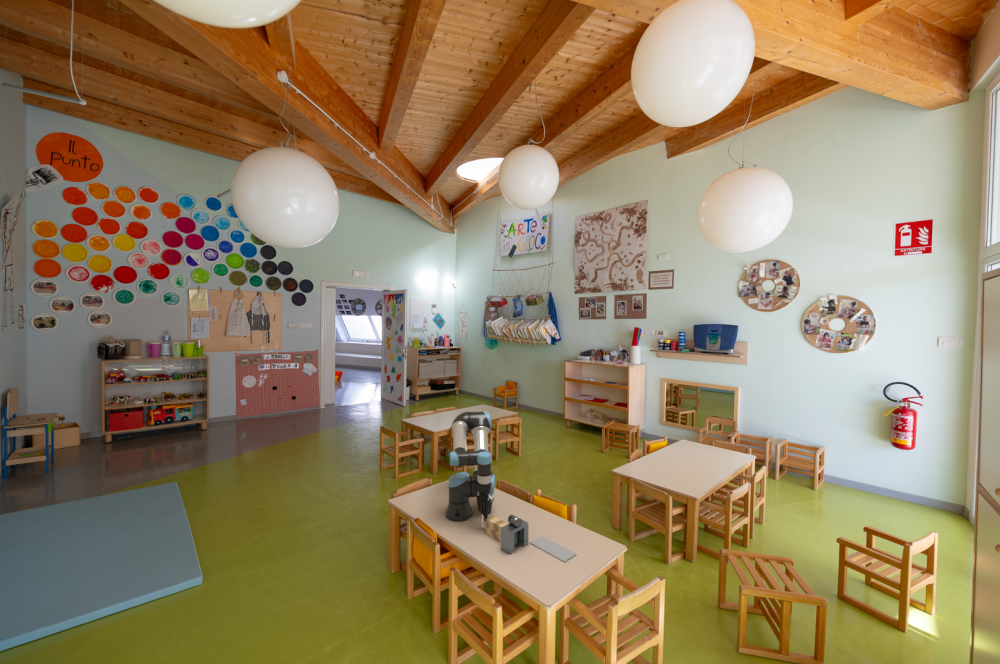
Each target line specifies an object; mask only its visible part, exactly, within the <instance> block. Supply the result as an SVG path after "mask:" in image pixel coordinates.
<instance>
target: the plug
mask: <svg viewBox="0 0 1000 664" xmlns="http://www.w3.org/2000/svg"><path fill="white" fill-rule="evenodd" d="M507 524H509V522H508V523H507V522H506V521H503V520H502V519H500V518H498V517H496V516H494V515H491V516H489V517H488V518H487V519H486V526H485V534H486V535H487V536H489V537H491V538H492V539H494V540H495V541H497V542H498V543H499V542H500V543H501V527H503V526H505V525H507ZM516 545H518V543H517V532H515V533H514V546H516Z"/></svg>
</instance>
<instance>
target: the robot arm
mask: <svg viewBox="0 0 1000 664" xmlns="http://www.w3.org/2000/svg"><path fill="white" fill-rule="evenodd" d="M492 424H493V423H492V418H491V414H490V412H489V411H464V412H462V413H460V414H458V415H457V416H456V417H455V418H454V419H453V422H452V424H451V431H452V433H453V440H452V441H453V450H452V451H450V453H449V465H450V466H451V467H453V466H455V467H462V466H465V467H466V466H474V471H473V472H472V475H470V474H469V472H465V471H461V472H456V473H454V474H452V475H451V476H449V479H448V504H447V508H446V511H445V517H446V519H448V520H450V521H453V522H464V521H467V520H469V519H470V518H472V516H473V508H472V505H471V503H470V498H476V504H477V510H478V512H479V513H480V520H481V527H482V528H486V519H487V518H489V517H488V516H489V515H491V513H492V507H493V502H494V500H495V498H494V497H492V496H494V493H495V485H496V475H495V474H493V471H492V454H491V452H489V439H488V438H489V437H488V434H490V431H491V430H492V427H493V425H492ZM467 431H471V434H472V436H473V445H474V447H473V448H474V450H469V451H468V450H467Z"/></svg>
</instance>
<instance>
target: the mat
mask: <svg viewBox="0 0 1000 664" xmlns="http://www.w3.org/2000/svg"><path fill="white" fill-rule="evenodd" d="M529 544H530V545H532V546H534V547H536V548H537V549H539V550H541V551H542V552H545V553H546V554H548V555H550V556H552V557H553V558H556V559H557V560H559V561H561V562H563V563H566V562H568V561H570V560H571V559H573V558H574V557H575V556H577V555H578V554H577V553H576V552H575V551H572V550H570V549H569V548H566V547H564V546H563V545H561V544H558V543H556V542H554V541H553V540H551V539H549V538H547V537H545V536H543V535H540V536H539V537H537V538H535V539H533V540H531V541H529Z"/></svg>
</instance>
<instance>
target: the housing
mask: <svg viewBox="0 0 1000 664" xmlns="http://www.w3.org/2000/svg"><path fill="white" fill-rule="evenodd" d="M507 522H508V524H507V525H505V526H503V527H501V542H500V549H501V550H502V551H503V552H505V553H506V554H508V555H511V554H512V555H513V554H514V553H515V545H514V533H515V532H517V544H519V545H521V546H523V547H526V546H528V545H529V522H528V521H525V520H524V519H522V518H521V517H520V518H519V517H517V516H516V515H514V514H510V515H508V518H507Z"/></svg>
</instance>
